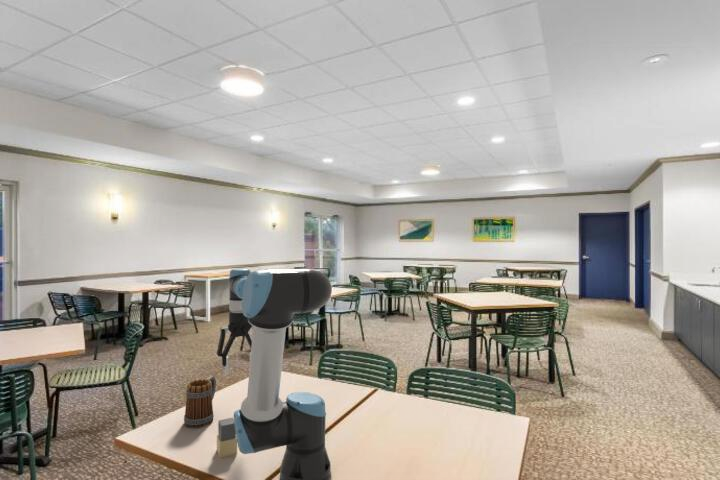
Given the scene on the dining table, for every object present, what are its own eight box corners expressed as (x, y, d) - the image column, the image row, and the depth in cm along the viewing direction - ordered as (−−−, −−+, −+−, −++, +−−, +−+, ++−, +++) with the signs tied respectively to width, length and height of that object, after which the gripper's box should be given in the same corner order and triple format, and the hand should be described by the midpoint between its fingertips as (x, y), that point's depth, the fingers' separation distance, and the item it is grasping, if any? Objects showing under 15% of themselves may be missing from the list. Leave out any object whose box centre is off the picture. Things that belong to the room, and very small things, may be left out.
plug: (237, 453, 131) (237, 423, 131) (219, 457, 128) (220, 426, 128) (233, 446, 135) (233, 416, 135) (216, 450, 133) (217, 420, 133)
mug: (203, 429, 147) (203, 389, 147) (177, 426, 149) (178, 386, 149) (225, 411, 162) (226, 375, 162) (202, 409, 164) (202, 373, 164)
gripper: (265, 307, 155) (264, 365, 155) (207, 311, 144) (207, 374, 144) (271, 310, 149) (270, 371, 149) (211, 315, 138) (211, 380, 138)
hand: (239, 372), depth 146 cm, fingers open, 8 cm apart
